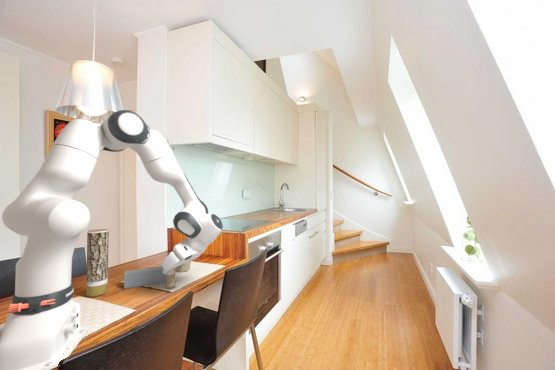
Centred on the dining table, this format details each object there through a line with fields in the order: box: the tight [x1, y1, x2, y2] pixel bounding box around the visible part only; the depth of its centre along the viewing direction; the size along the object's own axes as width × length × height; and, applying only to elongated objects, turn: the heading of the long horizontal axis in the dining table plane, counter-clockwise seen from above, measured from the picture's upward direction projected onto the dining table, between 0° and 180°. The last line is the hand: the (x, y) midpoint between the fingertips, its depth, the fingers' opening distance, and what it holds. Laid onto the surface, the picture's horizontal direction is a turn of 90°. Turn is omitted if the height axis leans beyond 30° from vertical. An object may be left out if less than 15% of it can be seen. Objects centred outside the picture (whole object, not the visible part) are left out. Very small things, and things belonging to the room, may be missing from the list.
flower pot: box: [175, 260, 192, 273], centre depth 126 cm, size 9×9×9 cm
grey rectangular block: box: [123, 265, 166, 290], centre depth 108 cm, size 16×4×6 cm, turn 119°
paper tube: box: [85, 228, 110, 298], centre depth 98 cm, size 7×7×25 cm
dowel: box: [165, 268, 176, 290], centre depth 104 cm, size 4×4×12 cm
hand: (172, 269), depth 104 cm, fingers open, 8 cm apart
